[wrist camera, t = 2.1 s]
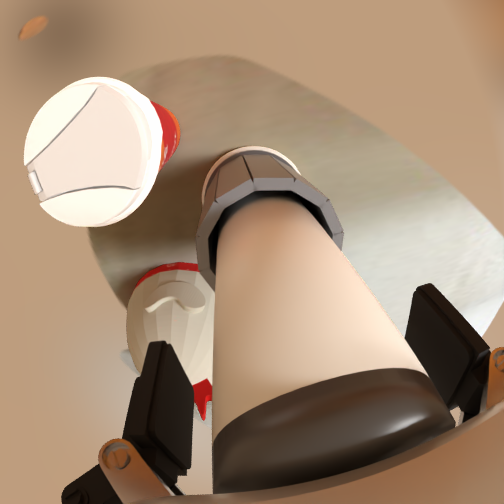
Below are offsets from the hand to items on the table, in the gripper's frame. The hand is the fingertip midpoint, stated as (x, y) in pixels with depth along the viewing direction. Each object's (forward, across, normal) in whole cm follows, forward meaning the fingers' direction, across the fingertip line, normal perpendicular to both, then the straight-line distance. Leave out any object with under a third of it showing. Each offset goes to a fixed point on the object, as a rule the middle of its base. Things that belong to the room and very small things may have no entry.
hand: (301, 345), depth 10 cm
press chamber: (+20, 0, 0) cm, 20 cm away
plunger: (+12, 0, 0) cm, 12 cm away
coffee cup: (+21, +8, -8) cm, 24 cm away
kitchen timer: (+21, +10, +12) cm, 26 cm away
